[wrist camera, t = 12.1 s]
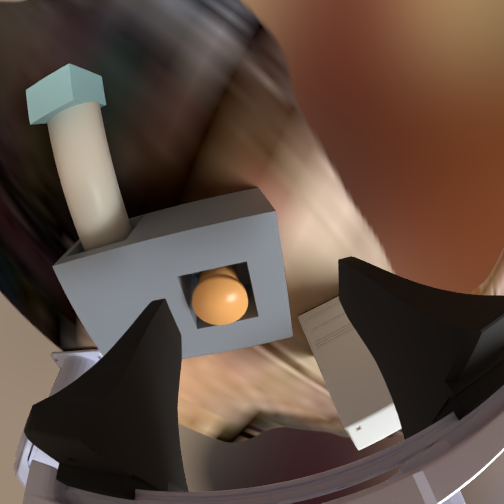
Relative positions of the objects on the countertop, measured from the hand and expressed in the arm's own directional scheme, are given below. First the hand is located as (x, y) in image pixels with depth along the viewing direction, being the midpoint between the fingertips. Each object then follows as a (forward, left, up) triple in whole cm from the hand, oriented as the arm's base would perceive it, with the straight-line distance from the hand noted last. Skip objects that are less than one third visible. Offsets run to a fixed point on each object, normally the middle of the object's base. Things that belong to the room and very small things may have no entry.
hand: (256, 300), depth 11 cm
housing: (-2, +5, -10) cm, 12 cm away
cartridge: (+7, +9, -10) cm, 15 cm away
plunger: (-2, +2, -8) cm, 8 cm away
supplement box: (-13, -8, -11) cm, 19 cm away
